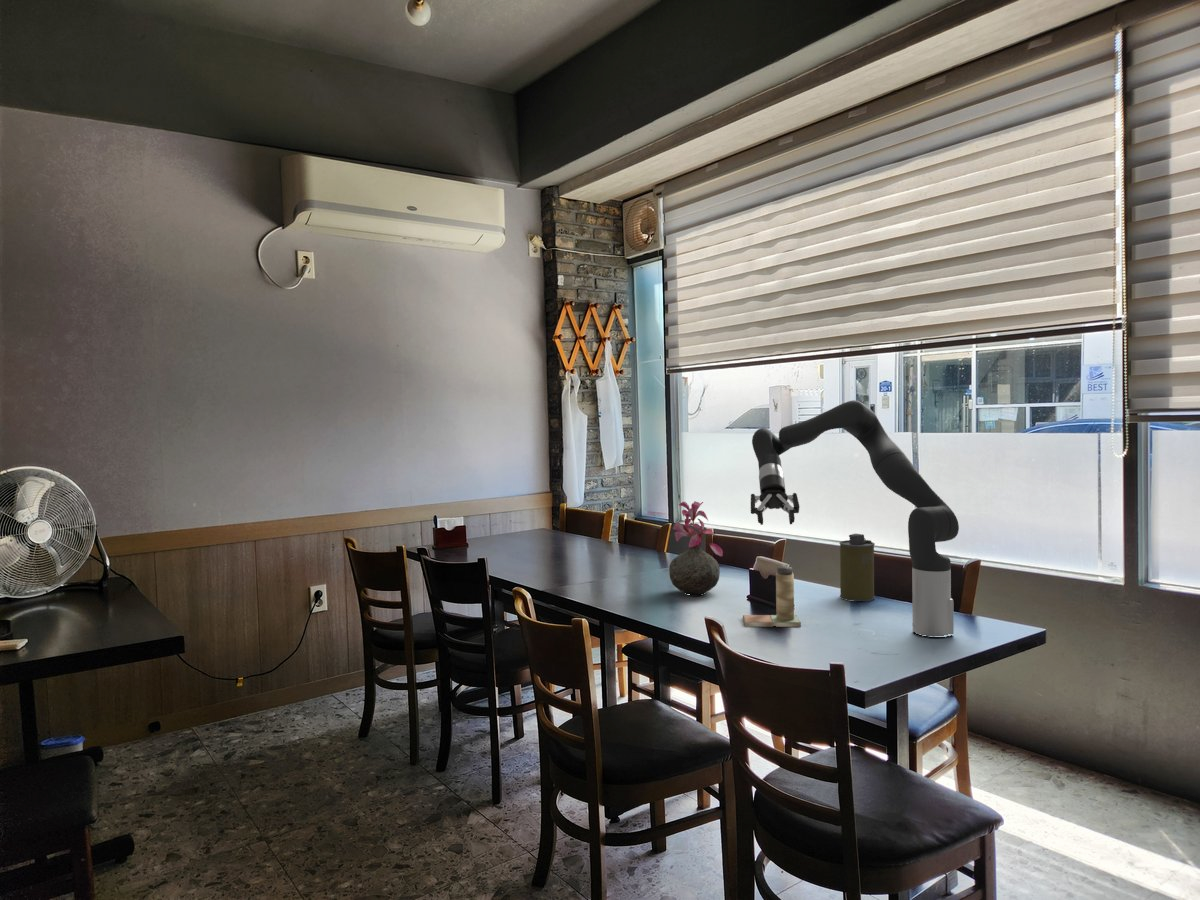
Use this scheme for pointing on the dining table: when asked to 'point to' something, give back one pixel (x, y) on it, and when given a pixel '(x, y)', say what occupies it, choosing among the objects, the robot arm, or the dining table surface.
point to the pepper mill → (784, 593)
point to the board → (769, 621)
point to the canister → (857, 568)
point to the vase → (694, 557)
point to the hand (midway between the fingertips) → (776, 522)
